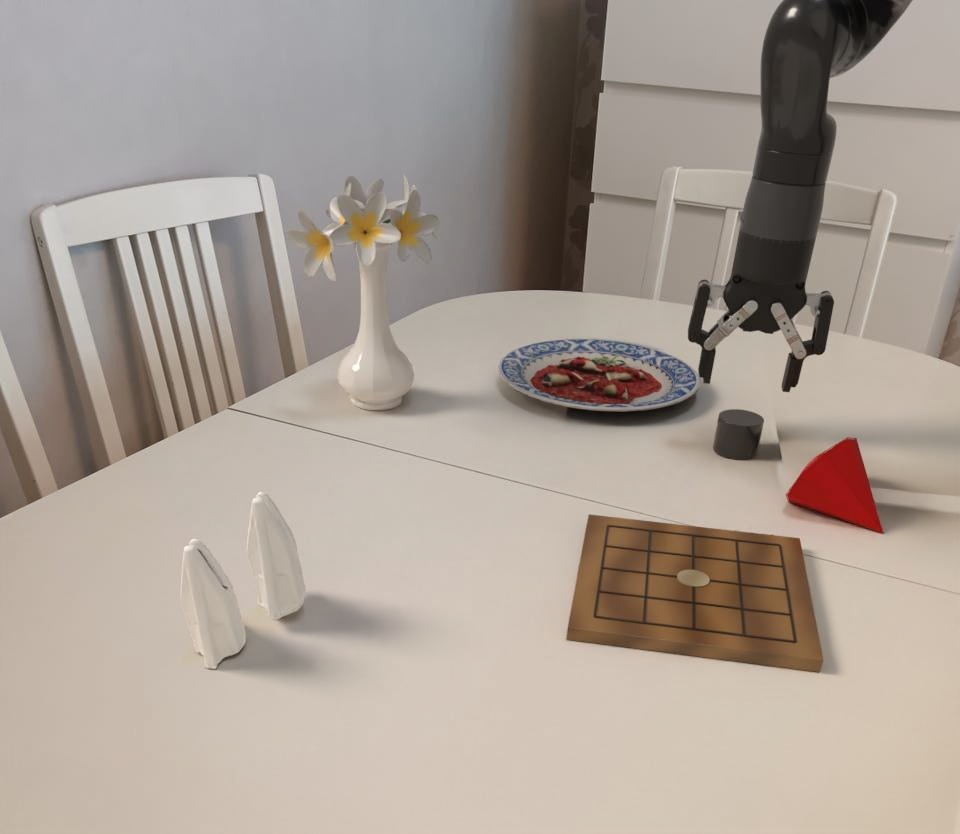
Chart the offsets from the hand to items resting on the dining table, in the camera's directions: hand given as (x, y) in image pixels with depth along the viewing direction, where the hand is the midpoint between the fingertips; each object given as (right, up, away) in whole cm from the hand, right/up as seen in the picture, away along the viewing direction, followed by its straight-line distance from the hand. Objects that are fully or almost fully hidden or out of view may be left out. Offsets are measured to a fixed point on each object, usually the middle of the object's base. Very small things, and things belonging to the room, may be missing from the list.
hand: (745, 385), depth 106 cm
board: (-11, -24, -21) cm, 33 cm away
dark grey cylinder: (0, -6, +5) cm, 8 cm away
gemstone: (+7, -15, -7) cm, 18 cm away
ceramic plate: (-14, +5, +20) cm, 25 cm away
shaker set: (-47, -27, -28) cm, 61 cm away
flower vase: (-42, +1, +12) cm, 44 cm away
